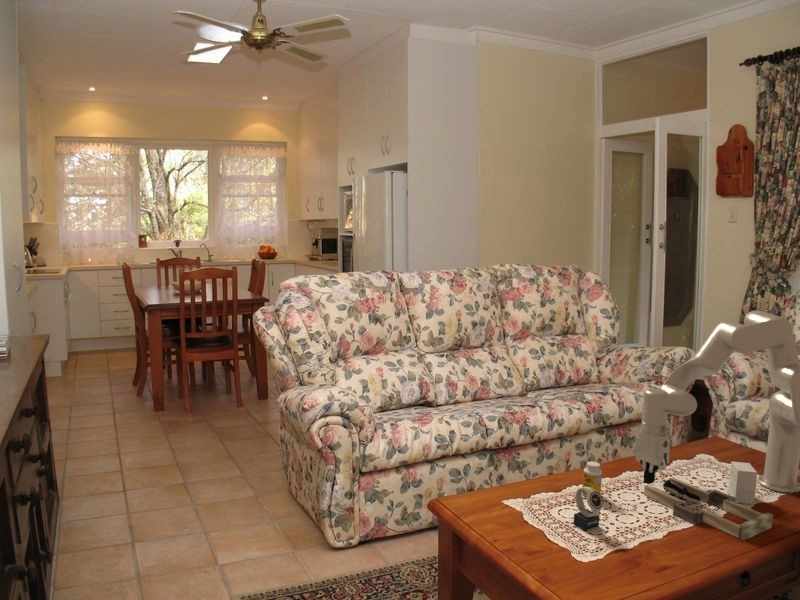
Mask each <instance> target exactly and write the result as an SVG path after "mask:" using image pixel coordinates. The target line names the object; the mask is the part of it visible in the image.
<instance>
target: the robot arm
mask: <svg viewBox="0 0 800 600" xmlns="http://www.w3.org/2000/svg"><path fill="white" fill-rule="evenodd" d="M793 332H794V327H793V325H792V323H791V321H789V320H788V319H787V318H786V317H783V316H779V315H776V314H773V313H769V312H767V311H764V310H760V309H759V310H757V309H756V310H751V311H749V312H748V313H746V314H745V316H744V319H743V324H742V323H739V322H736V321H732V320H723V321H721V322H719V323H717V325H716V326H715V327H714V328H713V329H712V331H711V332H710V334H709V336H708V337H707V338H706V339H705V340H704V342H703V343H702V345H701V346H700V347H699V348H698V351H696V353H695V354H694V356H692V357H691V358H689V359H688V360H686V361H685V362H684V363H682V364H680V365H679V366H677V367H676V368H675V369H673V371H672V372H671V373H670V374H669V375H668V377H667V378H666V380H665V381H664V382H663V383H662V385H661V387H660V388H653V387H652V388H647V389H645V391H644V392H643V402H642V412H641V413H642V415H641V425H640V428H639V430H638V433H637V437H636V439H635V440H636V441H635V447H634V456H635V461H637V462H638V463H640V465H641V467H642V470H643V483H645V484H647V485H651V484H654V483H655V478H656V473H657V471H666V470H667V464H669V463H670V452H671V451H670V449H671V448H670V438H669V432H670V429H669V428H668V424H667V423H668V415H675V416H683V417H686V416H690V415H693V414H694V413H695V411H696V410H697V408H698V403H697V402H698V401H697V399H696V398H695V396H693V395H692V394H691V393H689V392H688V391H686V389H687V388H688V387H689V386H690V385H691V384H692V383H693V382H694V381H696V380H698V379H700V378H702V377H707V376H712V375H715V374H718V373H719V372H720V370H721V369H722V368H723V367H724V366H725V363H726V362H727V361H728V360H729V358H730V357H731V356H732V355H733V353H734V352H736V353H738V354H748V353H755V352H758V351H762V350H763V351H764V350H766V355H767V361H768V371H769V377H770V382H771V383H772V385H773V386H775V387H776V388H778V389H780V390H778V391H776V392H774V393H773V394H772V395H771V397H770V399H769V401H768V417H769V426H768V427H769V428H768V436H767V444H766V445H767V446H766V453H765V464H764V469H763V470H764V471H763V474H760V475H759V476H757V477H758V478H757V481H758V484H759V485H760V486H762V487H764V488H766V489H769V490H772V491H774V490H775V492H778V493H779V492H780V493H785V492H790V493H789V494H794V492H796V493H799V492H800V482H799V481H797V480H798V477H799V476H800V469H799V465H800V359H799V355H798V354H799V353H798V347H797V343H796V340H795V337H794V336H793Z"/></svg>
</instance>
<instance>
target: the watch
mask: <svg viewBox="0 0 800 600" xmlns="http://www.w3.org/2000/svg"><path fill="white" fill-rule="evenodd" d="M583 489H584V490H586V494H587V497H586V503H587V505H588V507H589V508H590V509H586V506H585V503H584V498H583V496H582V495H583V493H582V491H583ZM574 499H575V504H576V507H577V510H578V512H576V513H574V514H573V525H574V526H576V527H578V528H580V529H581V530H582V531H585V532H586V531H588V530H591V529H592V530H593V529H595V528H597V527H599V526H600V525H599V524H600V515H599V514H600V512H601V511H602V507H603V505H604V504H603V503H604V499H603V497H602V495H601V493H600V494H599V493H598V492H597V491H596V490H595V489H593V488H591V487H583V488H582V487H580V488H577V490H576V492H575V497H574Z"/></svg>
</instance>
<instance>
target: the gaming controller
mask: <svg viewBox="0 0 800 600" xmlns="http://www.w3.org/2000/svg"><path fill="white" fill-rule="evenodd" d="M662 488H663V490H664V491H666V492H667V493H668V492H669V495H671V496H673V497H677V498H678V499H680V500H683V501H685V502H689V503H692V504H693V503H694V504H698V503H701V502H702V501H701V499H700V497H699V496H698V495H696V494H693V493H690V492H688V490H687V488H686V487H685V488H683V489H681V488H679V487H677V486H676V485H675V484H672V483H671V482H670V480H669V479H667V480H665V481H664V483H663V484H662Z"/></svg>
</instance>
